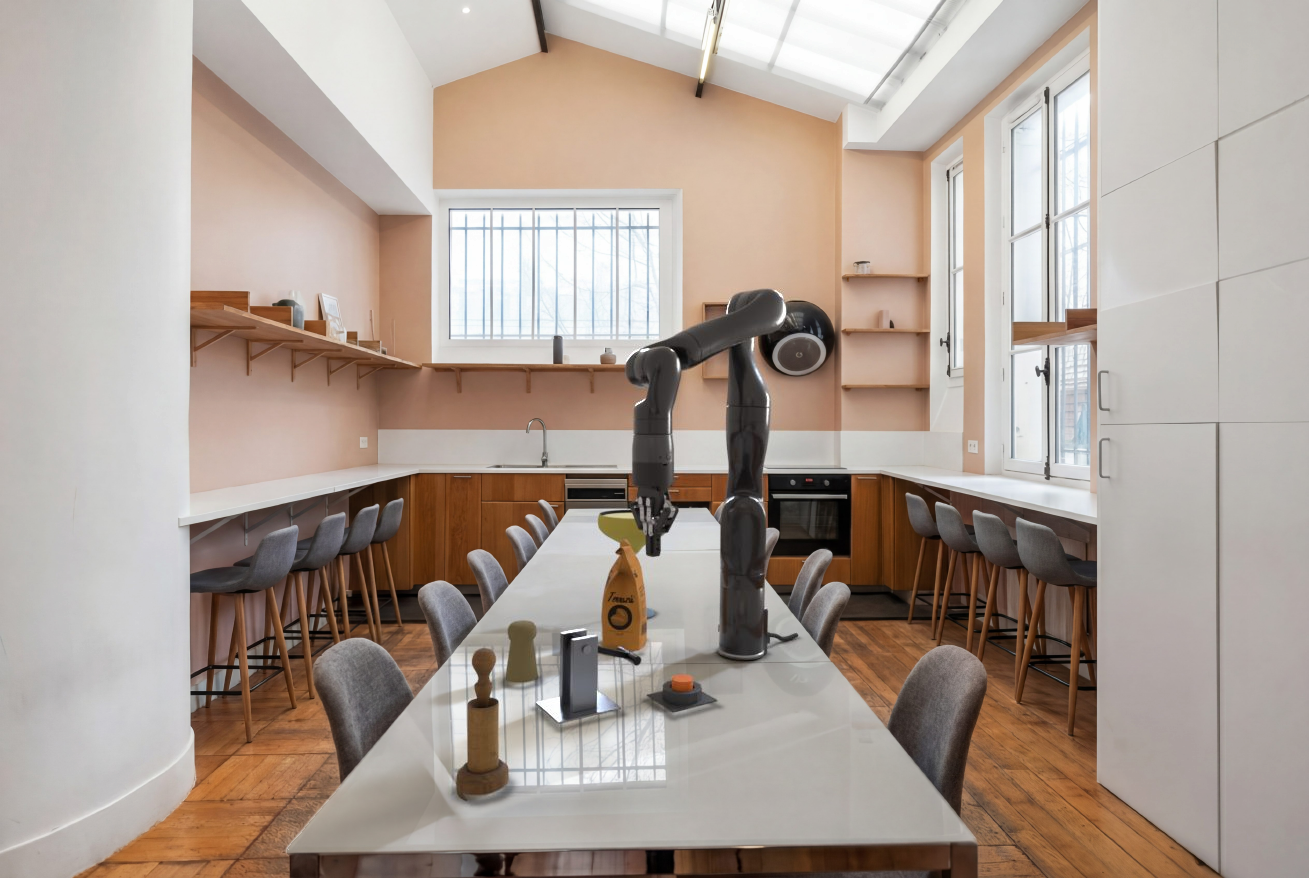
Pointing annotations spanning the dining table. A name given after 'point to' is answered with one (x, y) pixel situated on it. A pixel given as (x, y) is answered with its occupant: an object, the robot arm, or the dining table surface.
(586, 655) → the lever stand
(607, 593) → the coffee package
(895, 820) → the dining table surface
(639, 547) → the cocktail glass
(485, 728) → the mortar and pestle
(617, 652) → the black t-handle
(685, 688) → the button
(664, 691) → the control block
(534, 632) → the cork
